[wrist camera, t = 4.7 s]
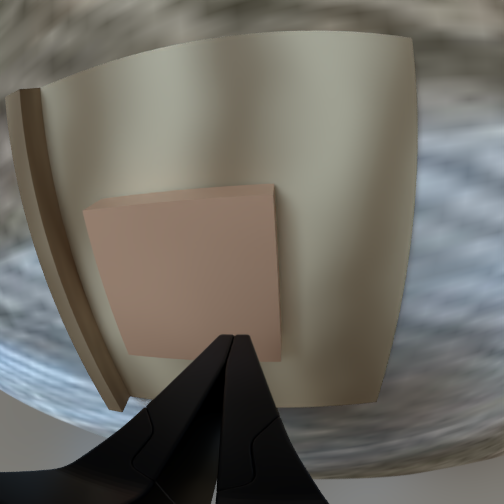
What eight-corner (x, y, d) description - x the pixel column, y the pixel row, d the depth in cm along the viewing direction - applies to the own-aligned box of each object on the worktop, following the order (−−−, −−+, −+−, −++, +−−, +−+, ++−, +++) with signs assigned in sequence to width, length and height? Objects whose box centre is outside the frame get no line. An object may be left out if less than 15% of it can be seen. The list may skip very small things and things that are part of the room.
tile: (272, 194, 10) (82, 210, 11) (281, 361, 13) (128, 354, 14) (274, 182, 11) (103, 197, 12) (281, 336, 14) (140, 333, 15)
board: (402, 42, 9) (427, 31, 7) (373, 389, 17) (380, 420, 15) (39, 93, 11) (5, 96, 9) (122, 383, 19) (109, 409, 17)
